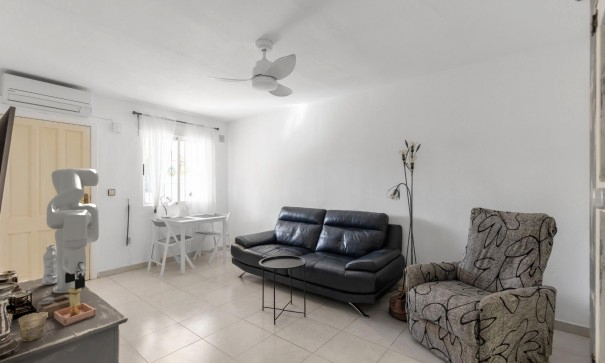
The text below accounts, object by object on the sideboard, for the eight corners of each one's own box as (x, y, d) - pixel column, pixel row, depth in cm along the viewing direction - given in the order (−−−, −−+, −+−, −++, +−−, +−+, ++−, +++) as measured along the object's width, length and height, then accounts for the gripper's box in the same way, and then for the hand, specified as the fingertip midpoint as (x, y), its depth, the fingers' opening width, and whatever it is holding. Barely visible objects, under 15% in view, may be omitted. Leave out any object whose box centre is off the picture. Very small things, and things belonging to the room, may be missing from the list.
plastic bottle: (49, 281, 150) (49, 244, 150) (62, 281, 150) (62, 244, 150) (38, 286, 143) (38, 247, 143) (52, 286, 144) (53, 247, 144)
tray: (53, 318, 112) (53, 311, 112) (83, 308, 121) (83, 302, 121) (64, 326, 106) (64, 319, 106) (95, 315, 115) (95, 309, 115)
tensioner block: (37, 312, 117) (37, 298, 117) (67, 303, 125) (67, 290, 125) (45, 318, 112) (45, 304, 111) (76, 309, 120) (76, 295, 120)
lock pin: (66, 316, 113) (66, 288, 113) (78, 311, 116) (78, 285, 116) (70, 319, 111) (70, 291, 110) (83, 314, 114) (83, 287, 114)
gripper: (55, 241, 115) (55, 282, 115) (72, 249, 105) (72, 294, 106) (77, 238, 121) (77, 277, 122) (95, 245, 112) (95, 287, 112)
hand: (74, 285), depth 114 cm, fingers open, 9 cm apart
